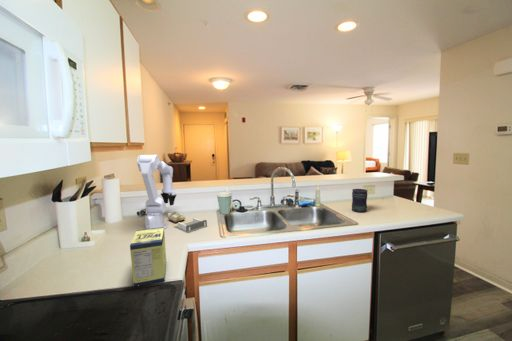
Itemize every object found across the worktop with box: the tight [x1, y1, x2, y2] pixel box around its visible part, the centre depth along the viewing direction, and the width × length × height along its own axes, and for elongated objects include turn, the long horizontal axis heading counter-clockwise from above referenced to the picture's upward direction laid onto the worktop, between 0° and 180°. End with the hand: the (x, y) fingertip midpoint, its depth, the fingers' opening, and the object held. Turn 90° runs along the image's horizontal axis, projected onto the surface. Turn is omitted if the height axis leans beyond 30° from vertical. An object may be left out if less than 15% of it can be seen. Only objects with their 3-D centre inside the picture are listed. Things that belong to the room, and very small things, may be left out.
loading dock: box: [172, 217, 208, 234], centre depth 141 cm, size 13×17×5 cm
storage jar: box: [351, 188, 368, 214], centre depth 165 cm, size 10×10×15 cm
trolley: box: [167, 210, 186, 224], centre depth 150 cm, size 7×9×5 cm
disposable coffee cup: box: [216, 190, 233, 215], centre depth 165 cm, size 11×11×15 cm
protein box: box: [129, 227, 167, 287], centre depth 90 cm, size 10×16×16 cm
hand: (169, 204), depth 156 cm, fingers open, 7 cm apart
